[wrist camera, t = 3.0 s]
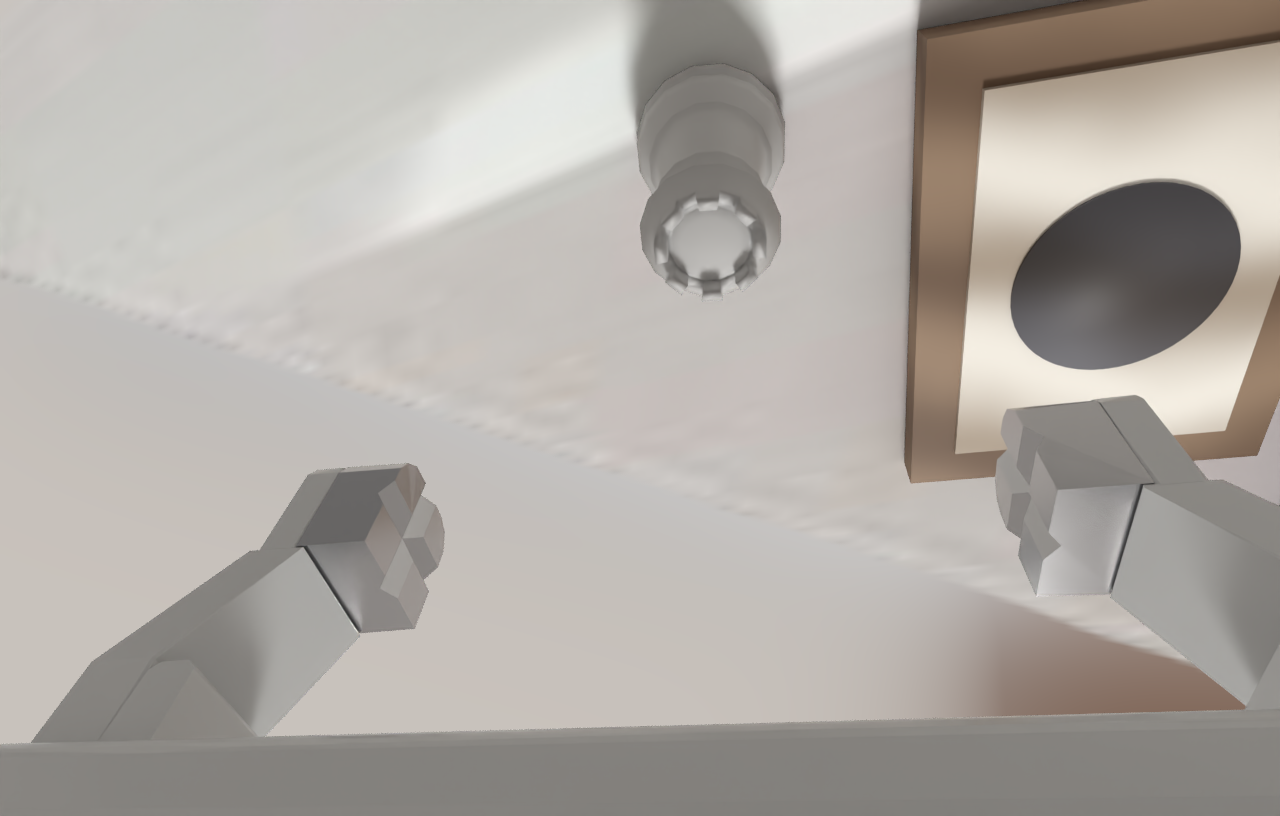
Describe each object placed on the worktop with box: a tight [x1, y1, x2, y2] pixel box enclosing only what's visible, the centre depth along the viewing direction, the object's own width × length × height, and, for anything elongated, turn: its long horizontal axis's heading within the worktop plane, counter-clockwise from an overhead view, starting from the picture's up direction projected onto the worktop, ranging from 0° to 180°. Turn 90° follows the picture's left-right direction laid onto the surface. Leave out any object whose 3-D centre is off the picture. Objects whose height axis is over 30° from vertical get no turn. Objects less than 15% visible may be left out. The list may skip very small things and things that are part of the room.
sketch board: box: [905, 0, 1280, 483], centre depth 24 cm, size 16×12×2 cm
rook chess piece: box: [637, 63, 785, 301], centre depth 20 cm, size 4×4×8 cm
